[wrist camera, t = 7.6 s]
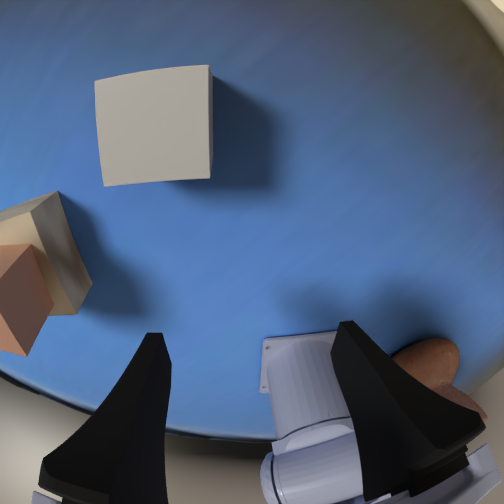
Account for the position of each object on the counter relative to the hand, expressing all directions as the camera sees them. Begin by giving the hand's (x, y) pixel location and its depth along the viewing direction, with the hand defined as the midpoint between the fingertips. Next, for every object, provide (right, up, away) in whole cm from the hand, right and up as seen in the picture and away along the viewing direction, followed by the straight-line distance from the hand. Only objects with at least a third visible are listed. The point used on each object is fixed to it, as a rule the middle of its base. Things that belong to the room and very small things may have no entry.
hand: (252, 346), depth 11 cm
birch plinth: (-17, +4, +7) cm, 19 cm away
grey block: (-5, +12, +4) cm, 13 cm away
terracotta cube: (-17, +2, +4) cm, 17 cm away
